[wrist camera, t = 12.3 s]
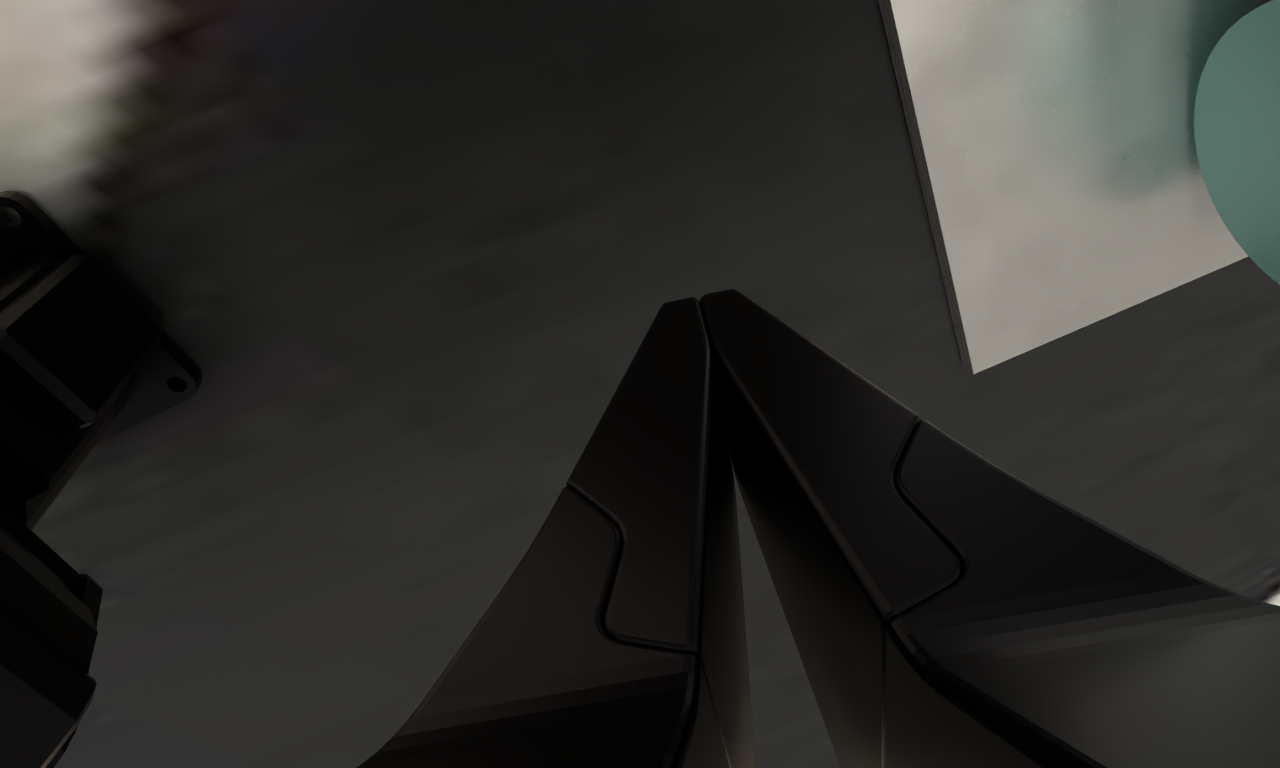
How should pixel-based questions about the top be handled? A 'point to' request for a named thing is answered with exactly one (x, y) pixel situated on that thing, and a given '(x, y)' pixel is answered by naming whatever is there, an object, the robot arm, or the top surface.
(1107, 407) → the top surface
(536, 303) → the top surface
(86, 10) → the top surface
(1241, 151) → the teal knob
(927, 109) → the mount
